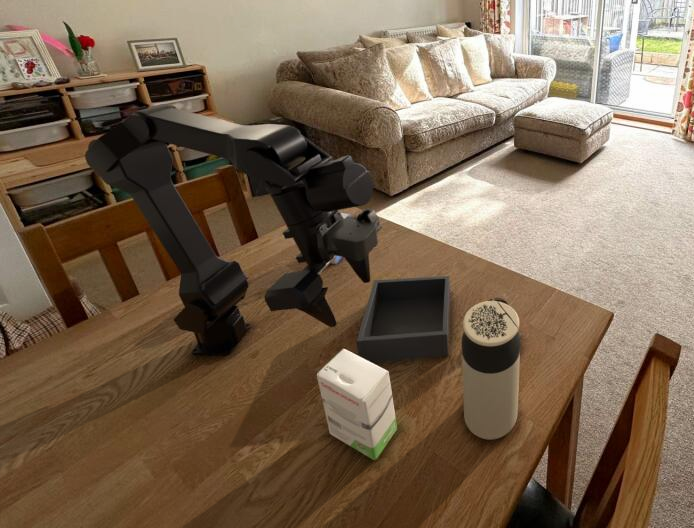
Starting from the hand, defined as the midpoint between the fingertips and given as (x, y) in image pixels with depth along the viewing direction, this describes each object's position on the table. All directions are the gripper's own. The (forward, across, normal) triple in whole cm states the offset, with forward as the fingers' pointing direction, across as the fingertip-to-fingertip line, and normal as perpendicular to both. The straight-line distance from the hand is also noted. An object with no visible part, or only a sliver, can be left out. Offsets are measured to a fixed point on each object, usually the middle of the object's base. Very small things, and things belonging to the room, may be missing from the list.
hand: (351, 302), depth 61 cm
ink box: (+15, -9, -1) cm, 18 cm away
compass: (+20, +10, -17) cm, 28 cm away
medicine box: (+7, +26, +25) cm, 37 cm away
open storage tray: (+14, +10, +1) cm, 18 cm away
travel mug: (+20, -3, -17) cm, 27 cm away
